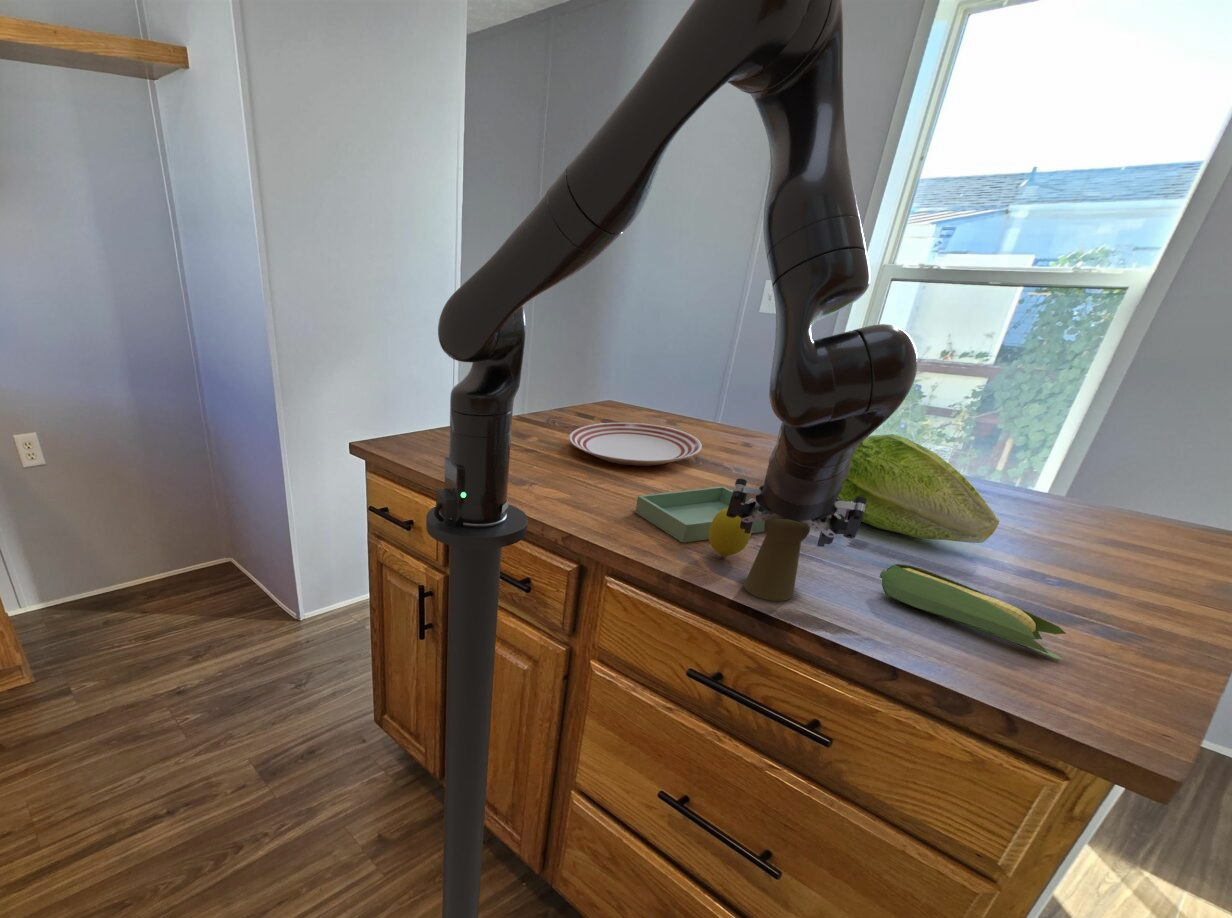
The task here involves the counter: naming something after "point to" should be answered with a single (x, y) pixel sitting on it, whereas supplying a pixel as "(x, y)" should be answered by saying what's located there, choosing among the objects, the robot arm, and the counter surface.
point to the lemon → (727, 534)
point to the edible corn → (965, 606)
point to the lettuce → (915, 492)
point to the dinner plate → (635, 443)
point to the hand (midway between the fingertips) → (784, 533)
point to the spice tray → (687, 511)
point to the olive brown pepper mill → (777, 560)
